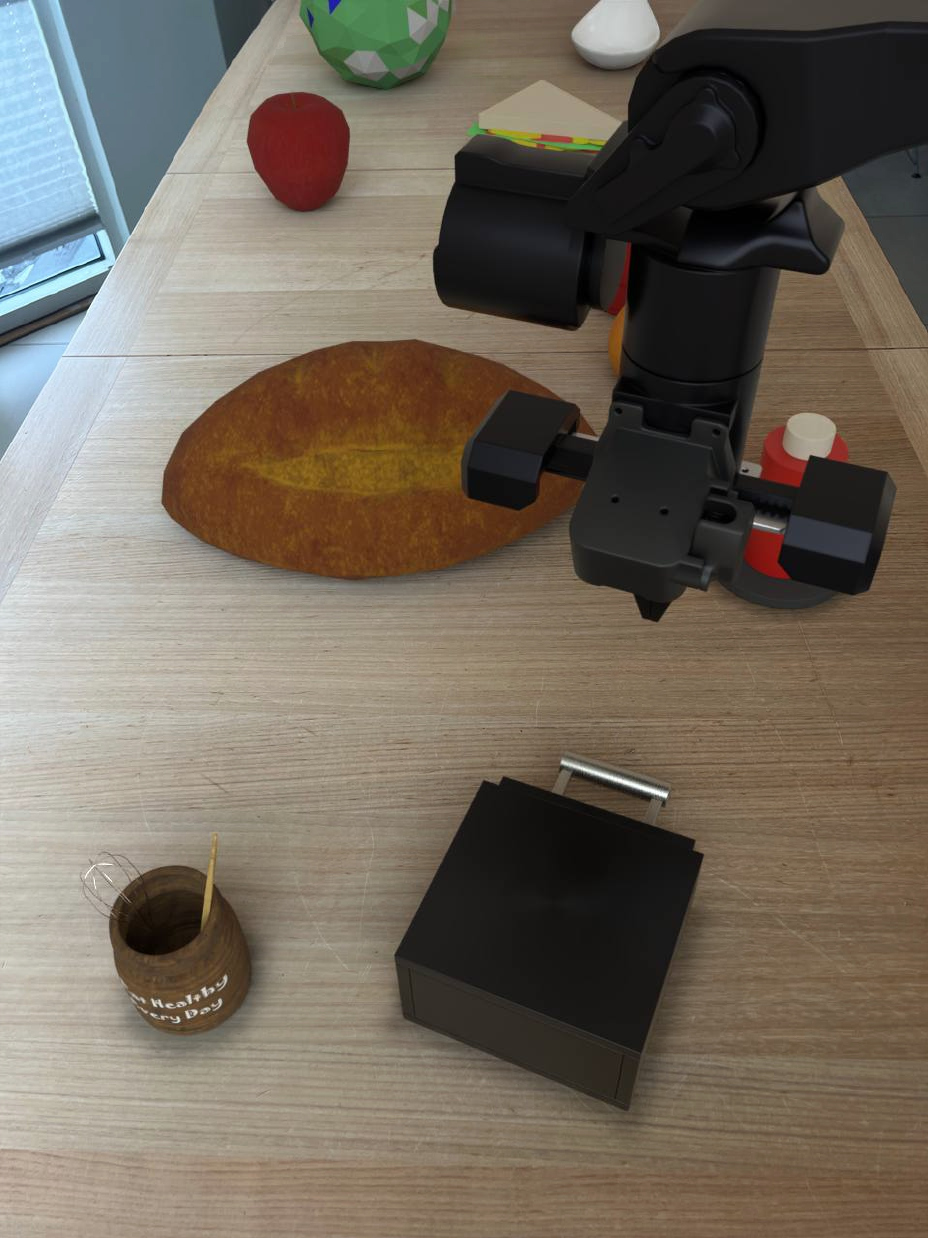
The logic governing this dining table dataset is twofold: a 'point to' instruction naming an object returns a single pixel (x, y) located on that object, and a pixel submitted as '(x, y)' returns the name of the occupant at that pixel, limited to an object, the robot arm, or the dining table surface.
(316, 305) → the dining table surface
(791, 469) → the ketchup bottle
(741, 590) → the disc
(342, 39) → the decorative sphere
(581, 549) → the robot arm
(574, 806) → the drawer
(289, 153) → the apple
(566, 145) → the sandwich
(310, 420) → the bread
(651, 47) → the spoon rest
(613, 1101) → the cabinet
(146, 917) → the utensil holder
